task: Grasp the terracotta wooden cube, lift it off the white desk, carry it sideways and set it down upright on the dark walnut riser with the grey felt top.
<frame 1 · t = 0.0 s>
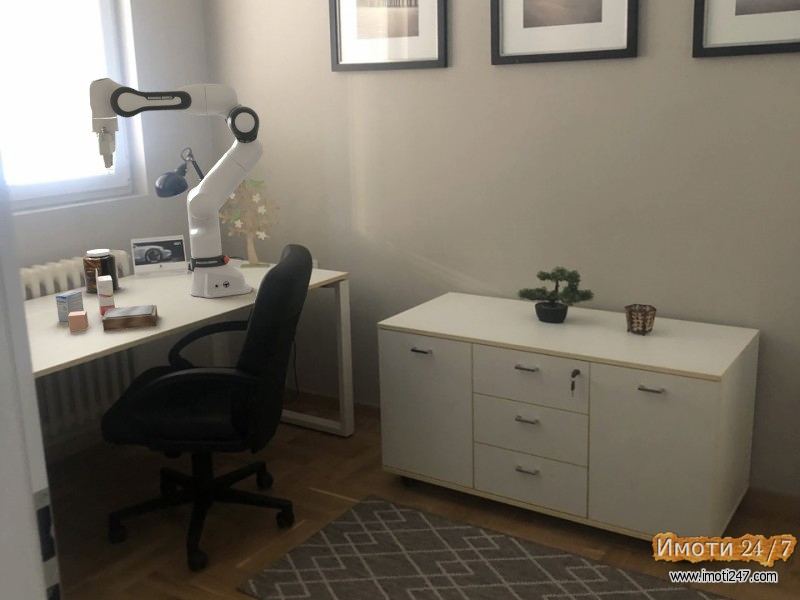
hand: (109, 166, 296), 48 cm above the table, fingers open, 8 cm apart
terracotta cube: (79, 328, 271), on the table
medicine box: (71, 319, 284), on the table
jar: (102, 289, 326), on the table
ink cartridge box: (107, 311, 292), on the table
walnut riser: (131, 322, 276), on the table
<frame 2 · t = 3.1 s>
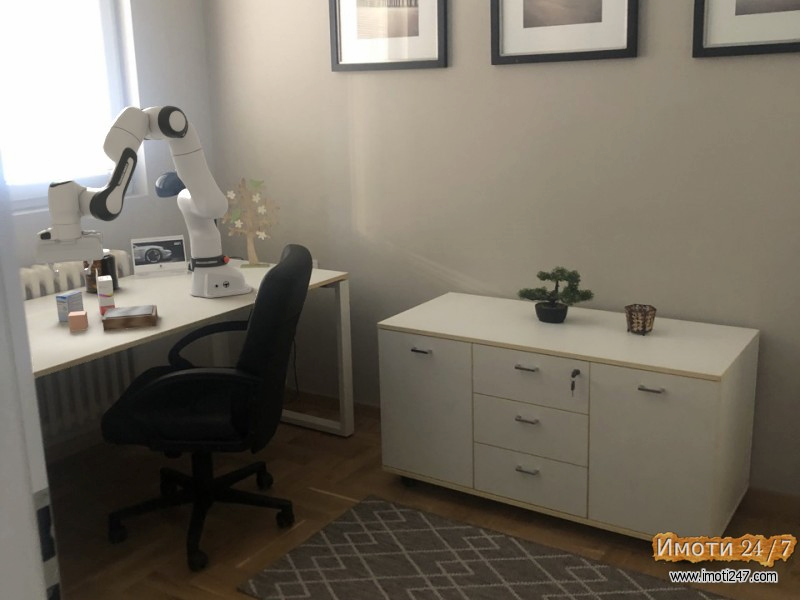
hand: (72, 275, 267), 17 cm above the table, fingers open, 8 cm apart
nothing on the table moved.
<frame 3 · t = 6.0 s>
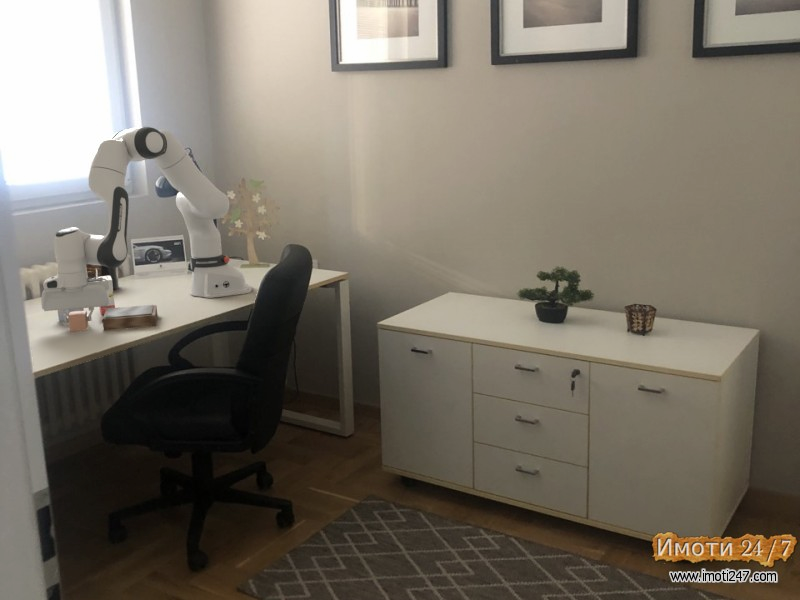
hand: (78, 321, 271), 2 cm above the table, fingers closed on terracotta cube, 5 cm apart
terracotta cube: (79, 328, 271), on the table, touching gripper
everything else where it was.
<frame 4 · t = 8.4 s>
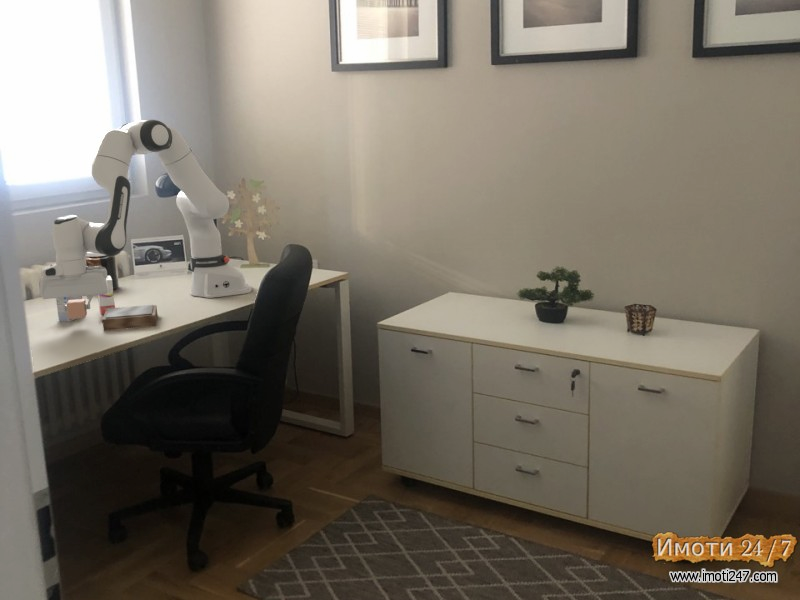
hand: (77, 309, 270), 6 cm above the table, fingers closed on terracotta cube, 5 cm apart
terracotta cube: (77, 316, 270), point 4 cm above the table, touching gripper
everything else where it was.
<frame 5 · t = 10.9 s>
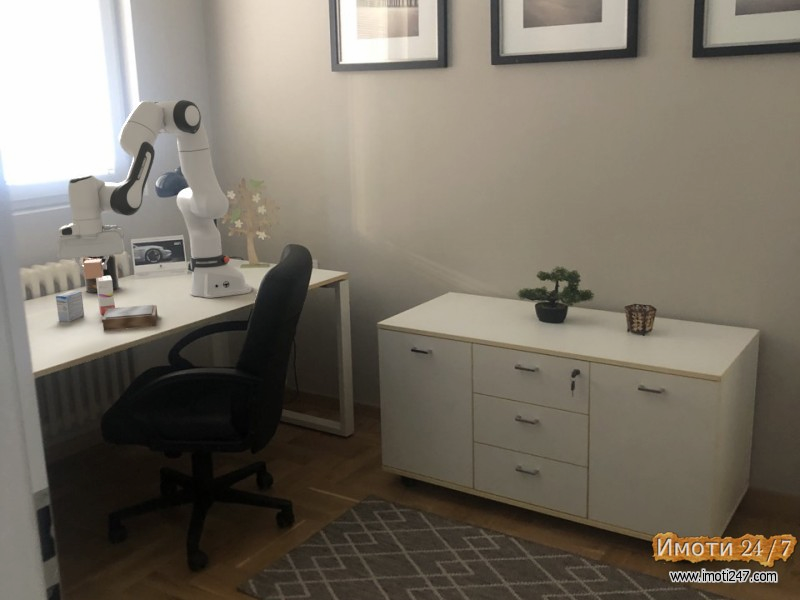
hand: (93, 270, 269), 18 cm above the table, fingers closed on terracotta cube, 5 cm apart
terracotta cube: (94, 276, 269), point 16 cm above the table, touching gripper
everything else where it was.
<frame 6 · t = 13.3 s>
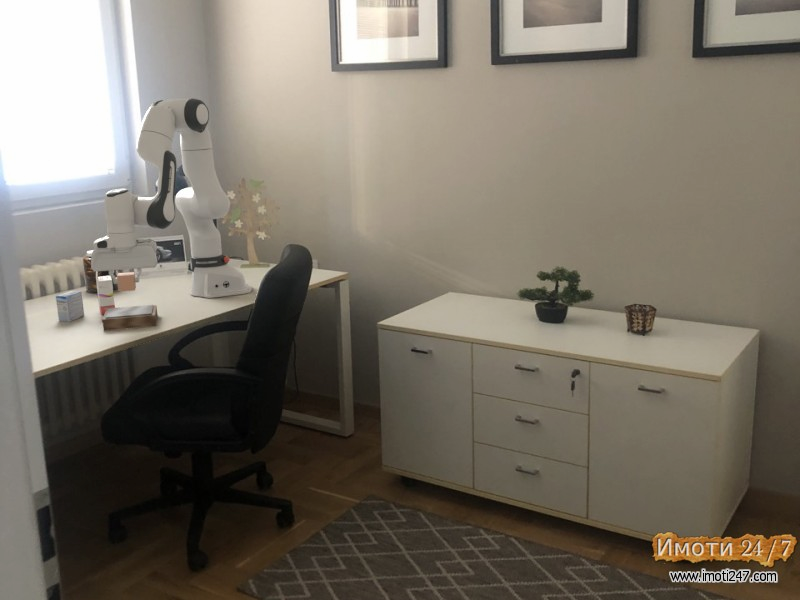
hand: (126, 282, 272), 13 cm above the table, fingers closed on terracotta cube, 5 cm apart
terracotta cube: (127, 289, 273), point 11 cm above the table, touching gripper
everything else where it was.
when the fingers open (8 cm above the table, at t = 15.7 s): terracotta cube drops 1 cm, resting on walnut riser.
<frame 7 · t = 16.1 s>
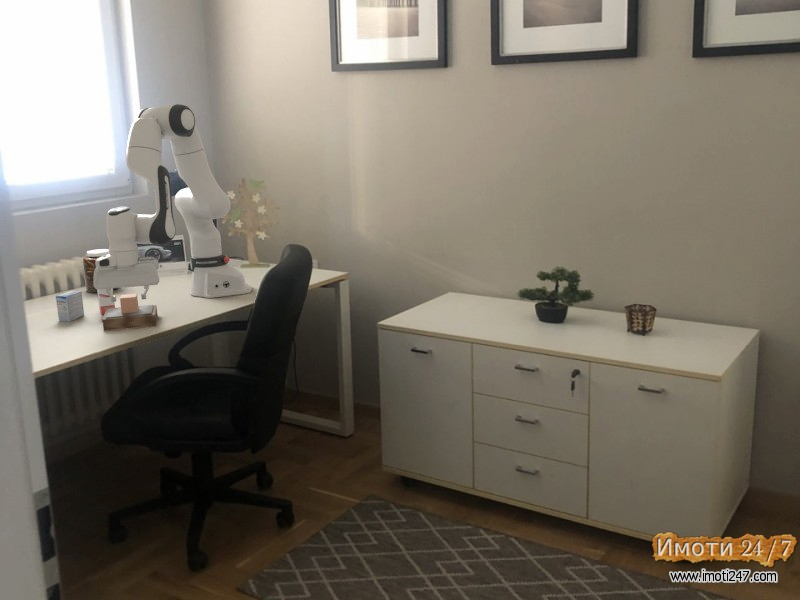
hand: (129, 300, 274), 8 cm above the table, fingers open, 8 cm apart
terracotta cube: (130, 310, 275), point 4 cm above the table, touching walnut riser
everything else where it was.
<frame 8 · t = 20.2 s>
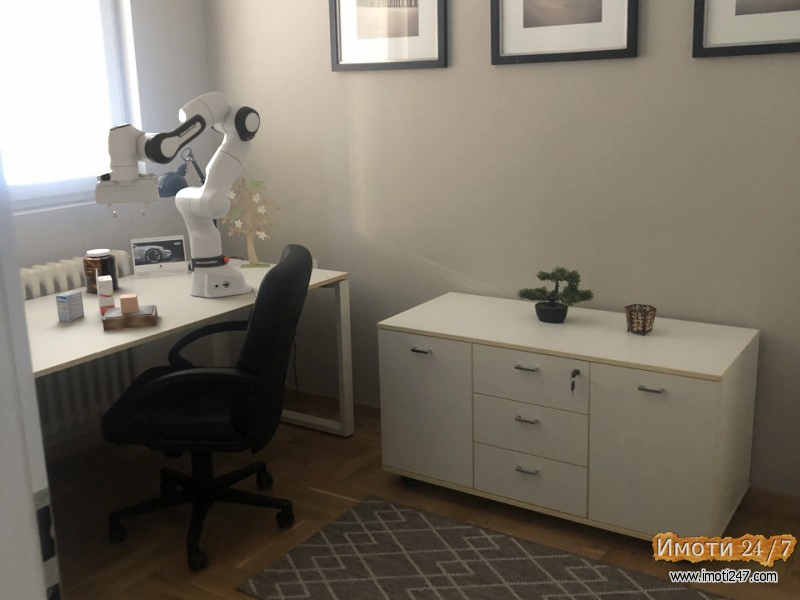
hand: (129, 216, 280), 33 cm above the table, fingers open, 8 cm apart
nothing on the table moved.
at the end: terracotta cube inside the target area on the walnut riser (0.0 cm from its centre), point 4.0 cm above the walnut riser's base; terracotta cube tilted 0°; the gripper is holding nothing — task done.
